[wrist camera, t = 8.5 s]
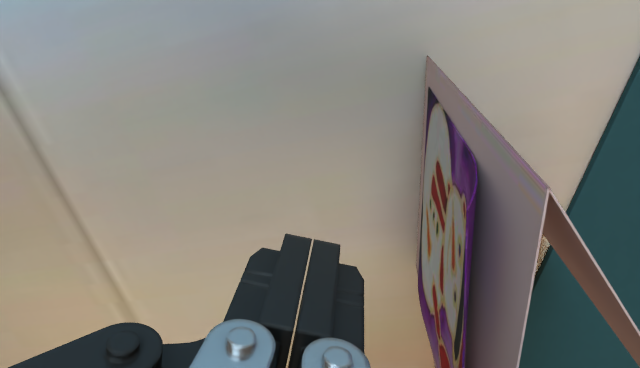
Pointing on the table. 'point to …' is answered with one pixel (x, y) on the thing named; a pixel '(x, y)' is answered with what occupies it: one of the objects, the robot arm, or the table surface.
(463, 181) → the greeting card
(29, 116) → the table surface
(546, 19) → the table surface
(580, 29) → the table surface
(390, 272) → the table surface
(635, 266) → the placemat
